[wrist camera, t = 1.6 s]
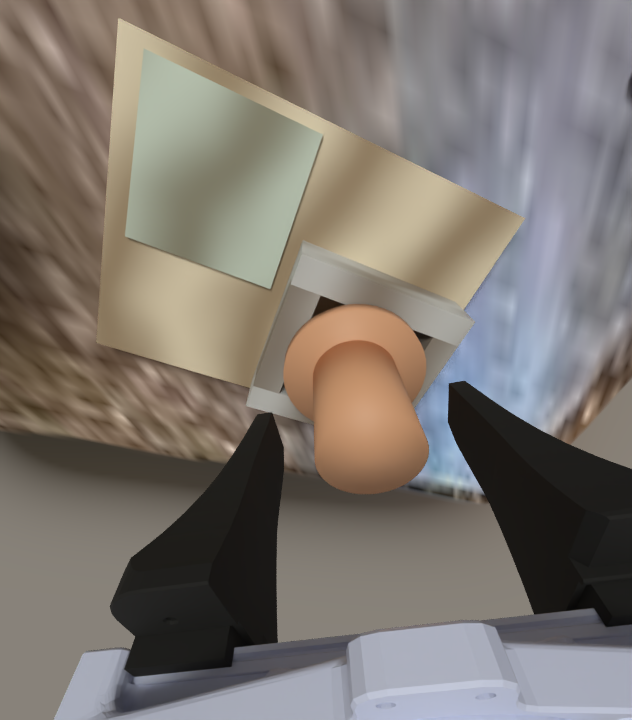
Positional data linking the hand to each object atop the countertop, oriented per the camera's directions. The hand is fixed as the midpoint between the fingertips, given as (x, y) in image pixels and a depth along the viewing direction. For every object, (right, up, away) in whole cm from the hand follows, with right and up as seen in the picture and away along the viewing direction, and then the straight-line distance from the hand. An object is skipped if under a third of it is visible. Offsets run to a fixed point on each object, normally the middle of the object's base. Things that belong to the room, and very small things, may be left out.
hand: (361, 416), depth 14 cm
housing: (-3, +7, +4) cm, 9 cm away
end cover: (0, +3, +5) cm, 6 cm away
